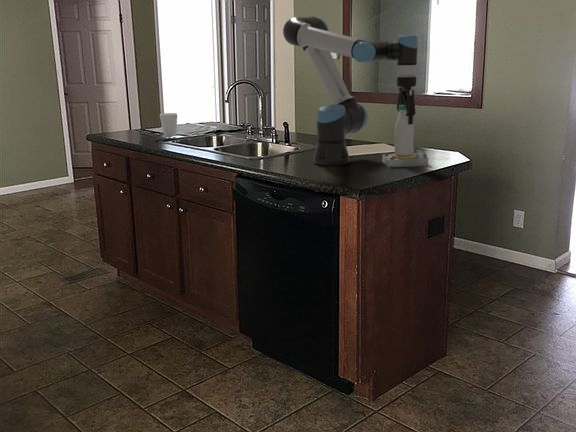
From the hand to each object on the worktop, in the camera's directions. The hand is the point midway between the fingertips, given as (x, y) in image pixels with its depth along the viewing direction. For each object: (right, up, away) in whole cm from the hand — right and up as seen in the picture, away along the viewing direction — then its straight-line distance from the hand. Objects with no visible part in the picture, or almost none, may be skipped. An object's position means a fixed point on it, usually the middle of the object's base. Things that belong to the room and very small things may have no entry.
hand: (405, 130), depth 245 cm
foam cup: (-112, +9, +91) cm, 145 cm away
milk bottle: (0, -10, +3) cm, 10 cm away
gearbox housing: (+1, -13, +4) cm, 14 cm away
